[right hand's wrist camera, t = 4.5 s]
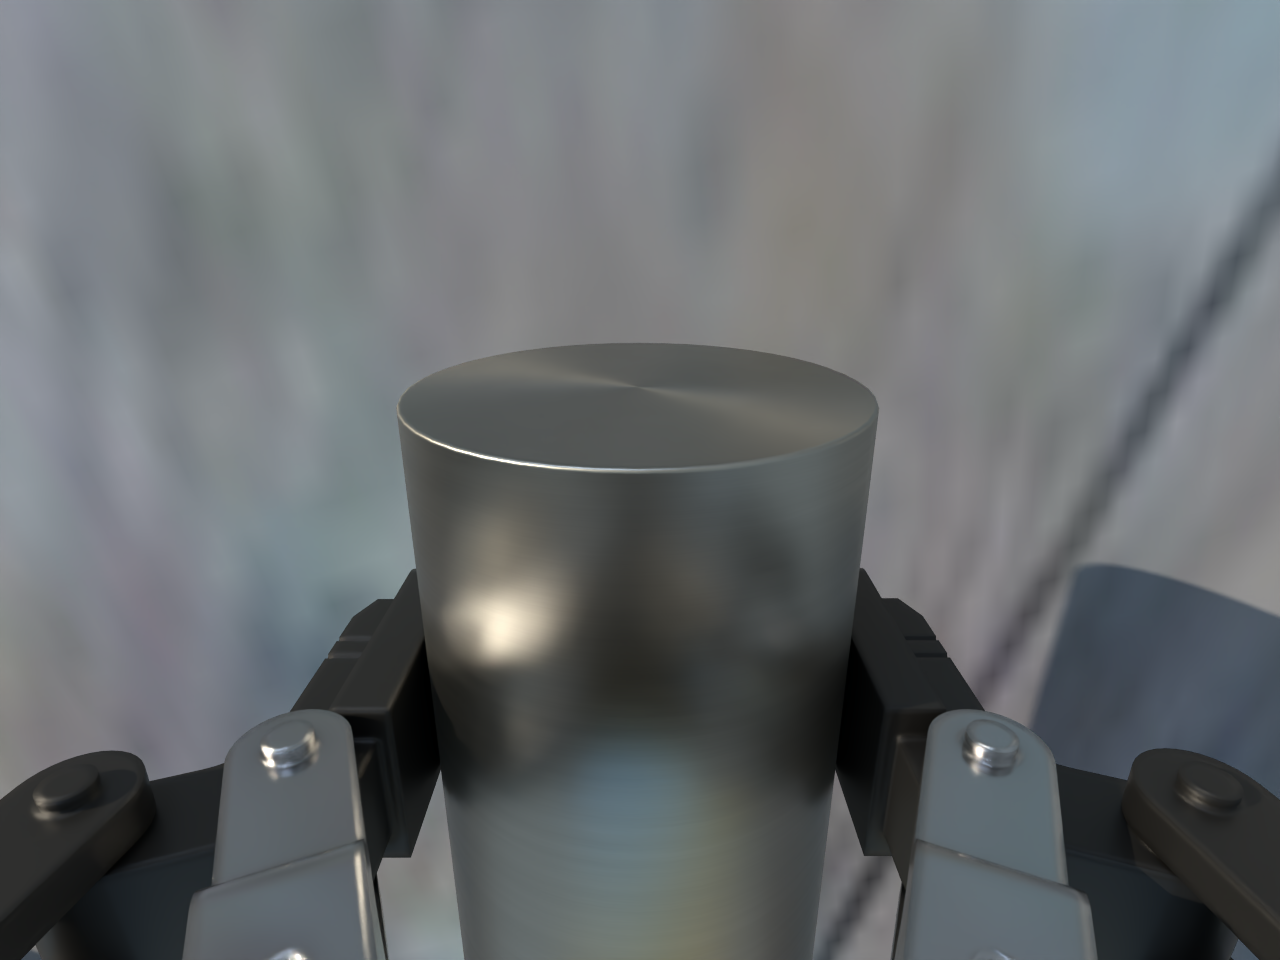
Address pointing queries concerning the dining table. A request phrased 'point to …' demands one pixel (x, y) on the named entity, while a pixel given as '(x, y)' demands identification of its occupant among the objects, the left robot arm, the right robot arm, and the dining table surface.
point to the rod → (638, 641)
